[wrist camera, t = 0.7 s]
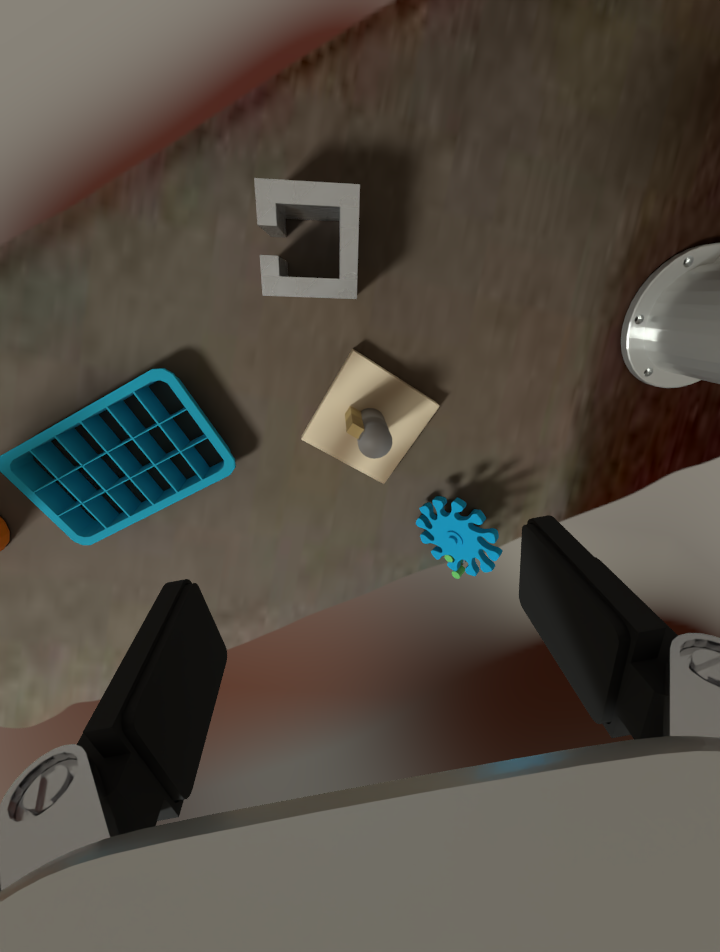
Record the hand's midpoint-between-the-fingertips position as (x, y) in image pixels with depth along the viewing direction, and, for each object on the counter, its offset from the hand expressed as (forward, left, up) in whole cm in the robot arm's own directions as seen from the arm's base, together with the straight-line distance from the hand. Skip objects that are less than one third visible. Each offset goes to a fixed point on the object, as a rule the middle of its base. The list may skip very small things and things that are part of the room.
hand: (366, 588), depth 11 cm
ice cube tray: (+18, -15, -30) cm, 38 cm away
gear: (+8, +19, -29) cm, 36 cm away
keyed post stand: (+2, +4, -29) cm, 29 cm away
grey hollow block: (-8, -8, -29) cm, 31 cm away
